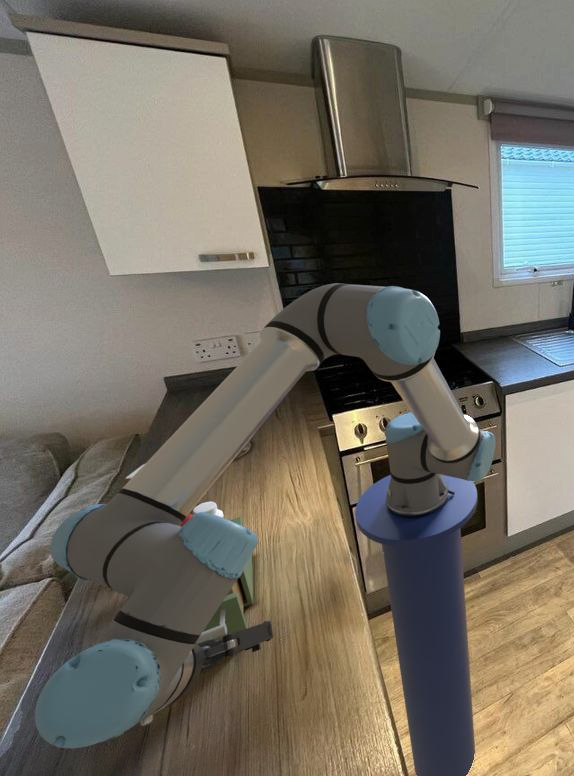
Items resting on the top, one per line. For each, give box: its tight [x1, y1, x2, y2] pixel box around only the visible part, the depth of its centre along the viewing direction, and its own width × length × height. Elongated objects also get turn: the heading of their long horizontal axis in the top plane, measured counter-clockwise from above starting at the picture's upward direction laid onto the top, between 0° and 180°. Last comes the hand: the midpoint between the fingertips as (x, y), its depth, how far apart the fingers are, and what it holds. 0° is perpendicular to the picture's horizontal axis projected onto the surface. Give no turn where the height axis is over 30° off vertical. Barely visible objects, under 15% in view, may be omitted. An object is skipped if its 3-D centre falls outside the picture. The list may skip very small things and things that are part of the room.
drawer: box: [196, 577, 249, 644], centre depth 74 cm, size 18×10×9 cm, turn 32°
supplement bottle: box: [192, 501, 225, 518], centre depth 95 cm, size 5×5×10 cm
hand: (200, 659), depth 65 cm, fingers open, 13 cm apart
